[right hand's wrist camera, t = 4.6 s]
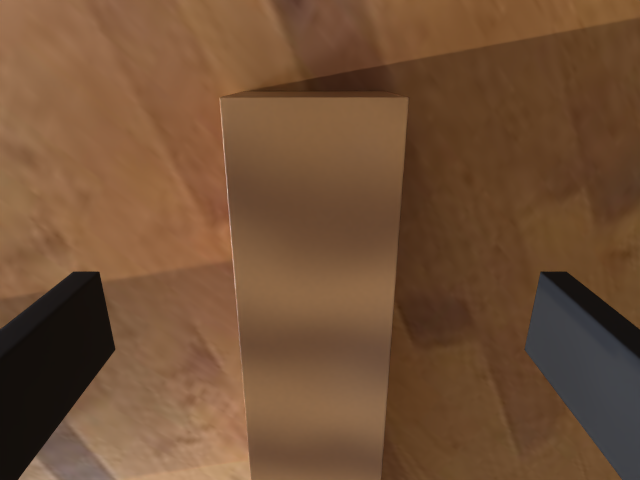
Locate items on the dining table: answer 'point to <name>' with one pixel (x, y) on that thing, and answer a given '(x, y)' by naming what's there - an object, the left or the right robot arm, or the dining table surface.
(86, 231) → the dining table surface
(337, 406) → the thick board
